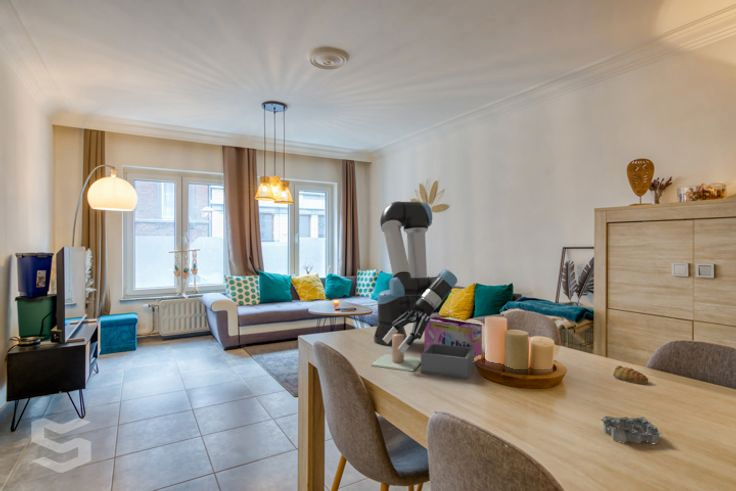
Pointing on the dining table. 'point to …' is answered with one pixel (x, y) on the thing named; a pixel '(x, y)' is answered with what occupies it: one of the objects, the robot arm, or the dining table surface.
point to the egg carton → (630, 429)
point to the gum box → (453, 334)
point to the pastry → (629, 375)
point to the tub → (447, 361)
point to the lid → (397, 357)
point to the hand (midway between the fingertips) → (392, 346)
